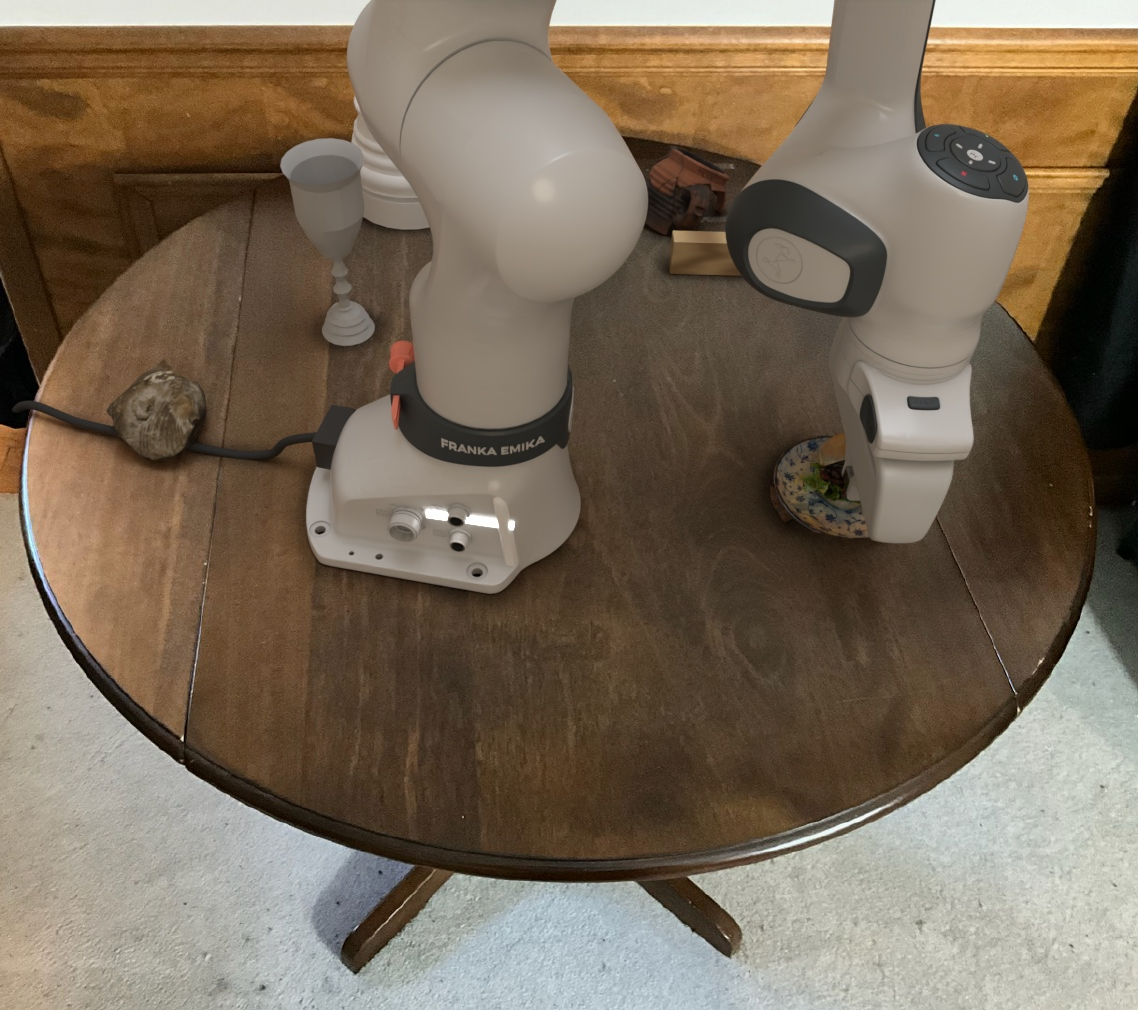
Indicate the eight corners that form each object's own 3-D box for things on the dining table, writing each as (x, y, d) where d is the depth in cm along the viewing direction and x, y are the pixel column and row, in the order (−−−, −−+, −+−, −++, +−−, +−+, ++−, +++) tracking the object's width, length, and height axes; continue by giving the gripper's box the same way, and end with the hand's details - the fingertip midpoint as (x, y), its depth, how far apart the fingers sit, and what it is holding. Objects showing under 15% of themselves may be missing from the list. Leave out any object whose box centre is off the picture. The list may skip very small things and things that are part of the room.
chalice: (362, 360, 98) (337, 192, 84) (298, 342, 99) (263, 173, 86) (397, 315, 102) (379, 148, 89) (335, 298, 104) (308, 131, 90)
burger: (767, 541, 85) (785, 480, 80) (770, 440, 93) (786, 377, 87) (915, 561, 85) (943, 501, 79) (905, 457, 92) (931, 396, 87)
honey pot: (420, 243, 110) (406, 80, 97) (328, 202, 114) (302, 40, 101) (491, 189, 117) (488, 30, 104) (402, 152, 122) (388, -5, 108)
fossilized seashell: (221, 439, 87) (217, 376, 94) (160, 389, 83) (161, 328, 90) (153, 490, 88) (155, 424, 96) (90, 443, 84) (96, 378, 91)
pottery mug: (618, 201, 118) (651, 132, 114) (687, 231, 122) (721, 164, 118) (650, 238, 108) (688, 163, 104) (724, 268, 112) (763, 197, 108)
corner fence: (684, 400, 96) (690, 367, 93) (668, 262, 110) (672, 230, 107) (909, 404, 97) (921, 372, 94) (864, 267, 110) (874, 235, 107)
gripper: (833, 267, 80) (797, 398, 91) (884, 459, 67) (835, 587, 77) (914, 270, 80) (869, 400, 91) (981, 462, 67) (919, 589, 77)
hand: (853, 488), depth 84 cm, fingers closed
